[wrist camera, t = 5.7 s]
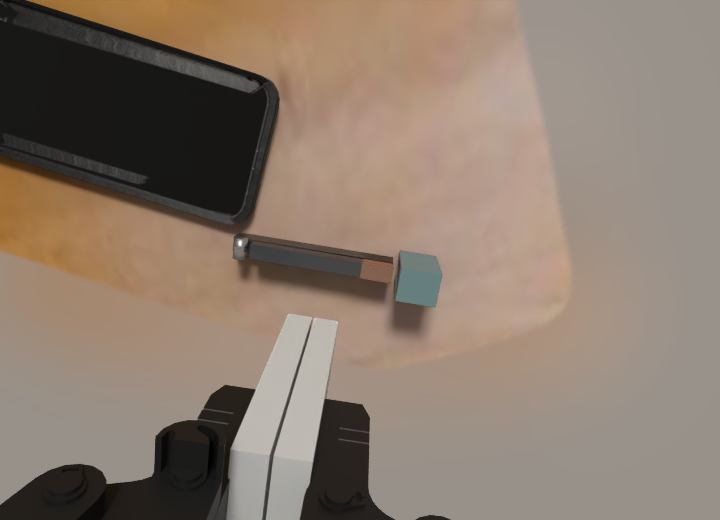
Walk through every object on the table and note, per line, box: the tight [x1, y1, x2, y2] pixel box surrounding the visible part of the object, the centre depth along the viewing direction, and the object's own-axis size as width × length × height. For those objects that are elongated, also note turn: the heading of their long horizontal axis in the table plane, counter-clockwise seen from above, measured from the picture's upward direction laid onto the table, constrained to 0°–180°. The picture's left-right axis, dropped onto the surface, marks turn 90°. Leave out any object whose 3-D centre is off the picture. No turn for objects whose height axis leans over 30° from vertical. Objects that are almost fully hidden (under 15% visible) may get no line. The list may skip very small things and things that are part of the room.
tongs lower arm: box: [233, 233, 393, 264], centre depth 27 cm, size 8×1×1 cm, turn 81°
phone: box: [0, 0, 280, 225], centre depth 26 cm, size 8×1×15 cm
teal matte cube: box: [394, 251, 442, 307], centre depth 26 cm, size 2×2×3 cm
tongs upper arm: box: [233, 236, 393, 284], centre depth 26 cm, size 8×1×1 cm, turn 81°
